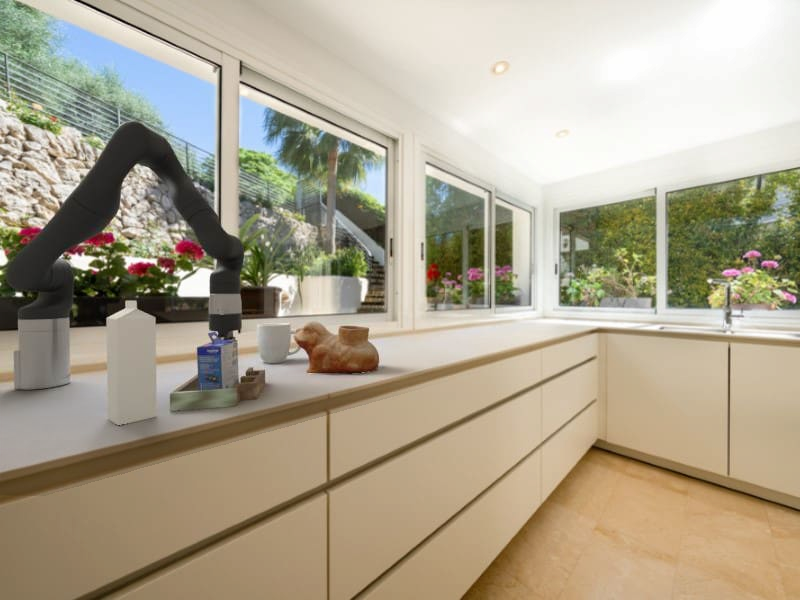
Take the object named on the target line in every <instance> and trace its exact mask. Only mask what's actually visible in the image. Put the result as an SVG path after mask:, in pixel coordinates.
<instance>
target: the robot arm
mask: <svg viewBox="0 0 800 600" xmlns="http://www.w3.org/2000/svg"><path fill="white" fill-rule="evenodd" d="M137 164H138V165H141V166H143V167H146V168H148V169H149V170H151V172H153V174H155V175H156V176H157V177H158V178H159V179H160V180H161V181H162V182H163V184H164V185H165V186H166V188H167V190H168V192H169V195H170V198H171V201H172V204H173V205H174V207H175V209H176V210H177V212H178V213H179V215H180V216H181V217H182V219H183V220H184V221H185V222H186V223H187V225H188V226H189V227H190V228H191V229H192V232H193V233H194V236H195V237H196V240H197V242H198V243H199V245H200V247H201V249H203V251H204V252H205V253H206V255H208V256H209V257H210V258H212V259H214V260H216V266H215V270H214V271H212V272H211V273H210V275H209V298H208V330H209V331H210V332H216V333H217V335H218V337H219V338H220V340H237V339H236V336H234V332H236V331H239V330H242V327H243V326H242V325H243V322H242V321H243V320H242V319H243V318H242V317H243V316H242V315H243V314H242V313H243V311H242V297H241V273H242V270H243V264H244V260H245V249H244V245H243V242H242V240H241V239H240V238H239V237H238V236H235V235H233V234H229V233H228V232H226V230H225V229H224V228H223V226H222V225H221V224H220V218H219V215H218V214H217V213H216V211H215V210H214V209H213V208H212V206H211V205H210V204H209V202H208V201H207V200H206V199H205V197H204V196H203V195H202V193H201V192H200V191H199V190H198V188H197V187H196V186H195V184H194V182H193V181H192V180H191V178H190V177H189V175H188V174H187V172H186V171H185V169H184V167H183V166H182V164H181V162H180V160H179V158H178V156H177V154H176V153H175V151H174V148H173V147H172V145H171V144H170V142H169V141H168V140H167V139H166V137H165V136H163V135H162V134H160V132H157V131H156V130H155V129H152V128H151V127H149V126H147V125H146V124H144V123H142V122H141V121H139V120H138V121H137V120H127V121H124V122H123V123H121V124H119V126H117V127H116V128H115V130H114V131H113V133H112V134H111V136H110V137H109V139H108V141H107V143H106V144H105V146H104V147H103V149H102V151H101V153H100V154H99V155H98V158H97V159H96V160H95V162H94V164H93V165H92V166H91V167H90V168H89V171H87V173H86V175H85V176H84V177H83V178H82V179H81V181H80V183H79V184H78V185H77V186H76V188H74V190H72V192H71V193H70V194H69V196H67V197H66V199H65V200H64V202H63V203H62V204H61V206H60V207H59V208H58V210H57V211H56V212H55V214H54V215H53V216H52V217H51V219H49V221H48V222H47V223H46V224H45V226H44V227H43V228H42V229H41V230H40V231H39V232H38V233H37V235H36V236H34V238H32V240H31V241H29V242H28V243H27V244H26V245H25V246H24V247H23V248H22V249H21V250H20V251H19V252H18V253H17V254H15V256H14V257H13V258H12V259H11V260H10V262H9V264H8V266H6V271H5V280H6V282H7V284H8V286H9V287H11V288H12V289H14V290H16V291H19V292H20V291H21V292H28V293H30V292H32V293H33V292H34V293H38V294H37V299H36V300H34V301H33V302H31V303H29V304H27V305H24V306H21V307H19V308H18V310H17V328H18V329H17V333H18V334H17V335H18V337H17V339H18V341H17V342H18V349H16V350H14V351H13V389H14V390H27V391H28V390H40V389H48V388H54V387H60V386H63V385H67V384H69V383H71V349H70V348H71V344H70V342H71V341H70V340H71V337H70V335H71V334H70V312H71V309H72V307H73V304H74V290H75V287H74V286H75V273H74V269H73V267H72V266H71V263H69V261H67V260H66V259H65V258H61V256H62V255H63V254H65V253H66V252H67V251H69V250H71V249H73V248H75V247H76V246H78V245H80V244H83V243H85V242H87V241H88V240H89V241H90V239H93V238H95V236H97V235H100V234H101V233H102V232H103V231H104V230H105V229H106V228H107V227H108V226H109V224H110V223H111V222H112V221H113V219H114V218H115V217H116V215H118V214H117V213H119V210H120V207H121V200H122V199H121V198H122V197H121V196H122V189H123V188H122V186H123V184H124V181H125V179H126V177H127V176H128V175H129V174H130V172H131V171H132V169H134V168H135V166H137Z"/></svg>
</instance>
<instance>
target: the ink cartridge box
mask: <svg viewBox="0 0 800 600" xmlns="http://www.w3.org/2000/svg"><path fill="white" fill-rule="evenodd" d="M207 334H208V337H209V339H210V341H211V342H208V343H204V344H203V345H200V346H197V347H196V355H197V356H196V359H197V360H196V362H197V363H196V364H197V374H198V388H199V390H214V389H229V388H232V387H233V386H234V385H235V384H236V383H240V379H239V378H240V377H239V376H240V375H239V374H240V373H239V349H238V348H239V347H238V345H239V344H238V340H237V339H236V340H220V338H219V337H218V333H217V331H211V332H209V333H207ZM213 336H215V338H213Z"/></svg>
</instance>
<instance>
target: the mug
mask: <svg viewBox="0 0 800 600" xmlns="http://www.w3.org/2000/svg"><path fill="white" fill-rule="evenodd" d="M291 325H292V324H291V323H289V322H273V323H271V322H268V323H260V324H259V323H258V324H257V325H256V342H257V343H256V344H257V349H258V353H259V356H260V358H261V360H262V361H263V363H265V364H279V363H283V362H285V361H286V359H287V357H288V356H292V355H295V354H297V353H298V352H299V351H300V350H301V349H302V348H301V347H300V346H299V345H298V347H297V348H296V349H295V350H294V351H291V352H290V347H291V342H292V341H291V338H292V335H295V333H296V330H291Z"/></svg>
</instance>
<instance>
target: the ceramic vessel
mask: <svg viewBox="0 0 800 600" xmlns="http://www.w3.org/2000/svg"><path fill="white" fill-rule="evenodd" d="M295 331H296V333H295V334H293V339H294V341H295V343H296V344H297V345H298V347H299V346H300V347H301V349H302V350H304V352H305V353H306V355H307V356H308V361H309V365H308V368H307V370H306V374H308V373H339V374H338V375H340V373H348V374H347V375H353V374H352V373H359V374H363V373H362V372H365V373H368V372H367V371H370V372H374V371H373V370H375V371H376V370H377V368H378V367H379V364H380V355H379V351H378V349H377V347H376V346H375V345H374V344H373V343H372V342H370V341H369V340H368V339H369V332H370V328H369V327H366V326H357V325H339V326H338V333H337V334H335V333H332V332H331V331H329V330H328V329H327V328H326V327H325V326H324V325H323V324H321V322H318V321H316V320H315V321H314V320H311V321H309V322H307V323H306V324H305V325H304V326H302V327H299V328H297V329H296V330H295Z"/></svg>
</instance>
